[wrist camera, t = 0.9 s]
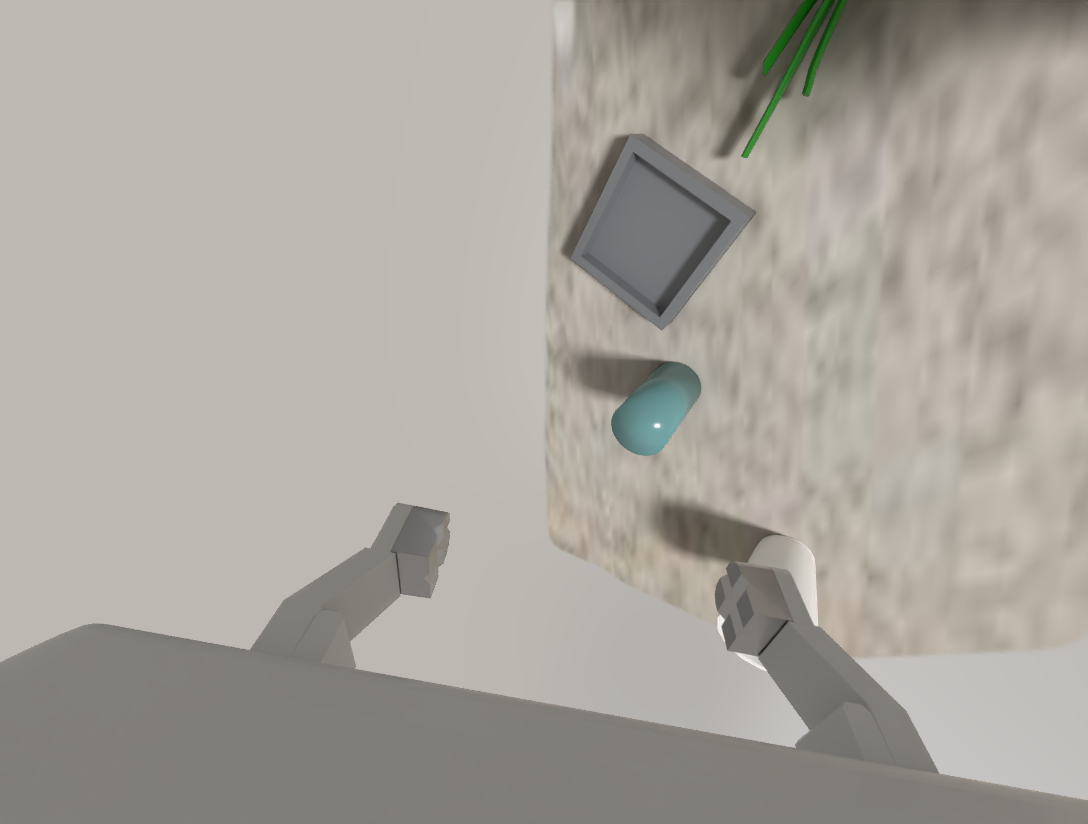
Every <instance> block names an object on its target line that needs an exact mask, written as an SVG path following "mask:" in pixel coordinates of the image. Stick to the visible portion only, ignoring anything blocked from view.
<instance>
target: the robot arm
mask: <svg viewBox="0 0 1088 824" xmlns="http://www.w3.org/2000/svg"><path fill="white" fill-rule="evenodd" d="M449 521H450V515H449V513H448V512H443V511H438V510H433V509H428V508H423V507H418V506H412V505H407V504H402V503H397V504H396V505H395V506H394V507H393V509H392V511H391V513H390V514H389V516H388V518H387V520H386V522H385V523H384V525H383V527H382V529H381V531H380V532H379V534H378V536H377V538H376V540H375V542H374V543H373V545H372V547H371V548H364V549H363V550H361V551H360V552H358V553H357V554H355V555H353V556H352V557H350V558H349V559H347V560H346V561H344V562H343V563H341V564H340V565H338V566H336V567H335V568H333V569H332V570H330V571H329V572H327V573H325V574H324V575H322V576H321V577H319V578H318V579H317V580H315V581H313V582H312V583H310V584H308V585H307V586H305V587H304V588H302V589H301V590H299V591H298V592H296V593H294V594H293V595H291V596H290V597H288V598H287V599H285V600H284V601H283V602H282V604H281V605H280V607H279V608H278V610H277V611H276V612H275V614H274V615H273V617H272V618H271V620H270V621H269V623H268V624H267V626H266V627H265V629H264V630H263V632H262V633H261V635H260V636H259V637H258V639H257V640H256V642H255V643H254V645H253V646H252V648H251V649H250V650H246V649H240V648H235V647H229V646H224V645H218V644H213V643H207V642H201V641H196V640H190V639H185V638H179V637H173V636H167V635H163V634H156V633H152V632H146V631H141V630H135V629H129V628H124V627H119V626H114V625H107V624H88V625H84V626H81V627H78V628H76V629H73V630H70V631H68V632H65V633H63V634H60V635H58V636H56V637H54V638H52V639H49V640H47V641H45V642H43V643H40V644H38V645H36V646H34V647H31V648H29V649H27V650H25V651H23V652H21V653H19V654H17V655H15V656H13V657H11V658H8V659H6V660H4V661H2V662H0V824H1088V800H1083V799H1077V798H1071V797H1066V796H1060V795H1055V794H1049V793H1043V792H1038V791H1032V790H1027V789H1021V788H1015V787H1010V786H1004V785H999V784H993V783H987V782H982V781H977V780H971V779H965V778H960V777H954V776H948V775H943V774H939V772H938V770H937V768H936V766H935V764H934V762H933V761H932V759H931V757H930V755H929V753H928V751H927V749H926V747H925V746H924V744H923V742H922V740H921V738H920V736H919V734H918V732H917V730H916V729H915V727H914V725H913V723H912V721H911V719H910V717H909V715H908V713H907V711H906V710H905V709H904V708H903V707H901V705H900V704H898V702H896V701H895V700H894V699H893V698H892V697H891V696H890V695H889V694H888V693H887V692H886V691H885V690H884V689H883V688H882V687H881V686H880V685H879V684H878V683H877V682H876V681H875V680H874V679H873V678H872V677H871V676H870V675H869V674H868V673H866V671H865V670H864V669H863V668H862V667H861V666H860V665H859V664H857V663H856V662H855V661H854V660H853V659H852V658H851V657H850V656H849V655H848V654H847V653H846V652H845V651H844V650H843V649H842V648H841V647H840V646H839V645H838V644H837V643H836V642H835V641H834V640H833V639H832V638H831V637H830V636H829V635H828V634H827V633H826V632H825V631H824V630H823V629H822V628H821V627H819V626H814V624H813V622H812V619H811V617H810V615H809V613H808V610H807V608H806V606H805V604H804V601H803V599H802V597H801V595H800V592H799V590H798V588H797V586H796V583H795V581H794V579H793V577H792V574H791V573H790V572H789V571H788V570H786V569H780V568H774V567H767V566H764V565H758V564H751V563H745V562H739V561H732V562H730V563H729V564H728V566H727V567H726V570H727V575H725V576H723V577H721V578H720V579H719V581H718V583H717V585H716V591H715V603H716V607H717V611H718V612H719V614H720V615H721V616H722V617H723V618H724V619H725V621H724V623H723V624H722V626H721V627H722V631H723V635H724V639H725V643H726V647H727V650H728V651H733V652H737V653H742V654H747V655H752V656H757V657H758V659H759V661H760V662H761V663H762V665H763V666H764V667H765V669H766V670H767V672H768V673H769V674H770V676H771V677H772V679H773V680H774V681H775V683H776V684H777V685H778V687H779V688H780V689H781V691H782V692H783V694H784V695H785V696H786V698H787V699H788V701H789V702H790V703H791V704H792V706H793V707H794V709H795V710H796V712H797V713H798V714H799V716H800V717H801V718H802V720H803V721H804V723H805V724H806V725H807V727H808V728H809V730H810V731H809V732H808V733H806V734H805V735H804V736H803V737H802V738H800V739H799V740H798V741H797V743H796V744H795V746H796V748H792V747H786V746H781V745H775V744H769V743H764V742H759V741H753V740H747V739H742V738H736V737H731V736H725V735H720V734H714V733H709V732H703V731H698V730H692V729H686V728H681V727H675V726H669V725H664V724H658V723H653V722H648V721H642V720H636V719H631V718H625V717H620V716H614V715H609V714H603V713H598V712H592V711H586V710H581V709H575V708H570V707H564V706H558V705H553V704H547V703H542V702H536V701H531V700H525V699H519V698H514V697H508V696H503V695H497V694H491V693H486V692H480V691H475V690H469V689H464V688H458V687H452V686H447V685H441V684H436V683H430V682H424V681H419V680H413V679H408V678H402V677H397V676H391V675H385V674H380V673H373V672H369V671H363V670H358V669H355V668H356V664H355V661H354V656H353V653H352V649H351V645H350V641H351V640H352V639H353V638H354V637H356V635H358V634H359V633H360V632H361V631H362V630H363V629H364V628H365V627H366V626H368V625H369V624H370V623H371V622H372V621H373V620H374V619H375V618H376V617H378V616H379V615H380V614H381V613H382V612H383V611H384V610H385V609H386V608H388V607H389V606H390V605H391V604H392V603H393V602H394V601H395V600H396V599H398V598H399V597H400V594H404V595H412V596H418V597H425V598H431V596H432V593H433V590H434V587H435V585H436V582H437V579H438V567H439V566H441V565H442V564H443V563H444V560H445V557H446V554H447V549H448V545H449V538H450V531H449V530H448V529H447V527H448V524H449Z"/></svg>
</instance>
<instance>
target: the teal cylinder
mask: <svg viewBox="0 0 1088 824" xmlns="http://www.w3.org/2000/svg"><path fill="white" fill-rule="evenodd" d="M700 393H701V383H700V380H699V377H698V376H697V374H696V373H695V372H694V371H693V370H692V369H691V368H690V367H688V366H687V365H685V364H682V363H678V362H668V363H664V364H662V365H660V366H659V367H658V368H657V369H656V370H655V371H654V372H653V373H652V374H651V375H650V376H649V377H648V378H647V379H646V380H645V381H644V382H643V383H642V384H641V385H640V386H639V387H638V388H637V389H636V390H635V391H634V393H633V394H632V395H631V396H630V397H629V398H628V399H627V400H626V401H625V402H624V403H623V404H622V405H621V406H620V407H619V408H618V409H617V410H616V411H615V413H614V414H613V416H612V421H611V426H612V430H613V433H614V436H615V437H616V439H617V440H618V442H619V443H620V444H621V445H622V446H623V447H624V448H626V449H627V450H629V451H631V452H633V453H635V454H638V455H643V456H649V455H654V454H656V453H658V452H660V451H661V450H662V449H663V448H664V446H665V445H666V444H667V442H668V441H669V439H670V438H671V436H672V435H673V434H674V432H675V431H676V429H677V428H678V426H679V425H680V424H681V422H682V421H683V419H684V418H685V416H686V415H687V414H688V412H689V411H690V409H691V408H692V407H693V405H694V404H695V402H696V401H697V399H698V398H699V396H700Z"/></svg>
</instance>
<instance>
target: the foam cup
mask: <svg viewBox="0 0 1088 824" xmlns="http://www.w3.org/2000/svg"><path fill="white" fill-rule="evenodd" d="M747 563H751V564H758V565H764V566H767V567H774V568H780V569H786V570H788V571H789V572H790V573H791V574H792V577H793V579H794V581H795V583H796V586H797V588H798V590H799V592H800V595H801V597H802V599H803V601H804V604H805V606H806V608H807V610H808V613H809V615H810V617H811V619H812V622H813V624H814V626H818V612H817V591H816V569H815V558H814V556H813V555H812V553H811V551H810V549H809V548H807V547H806V546H805V545H804V544H802V543H801V542H800V541H798V540H795V539H793V538H790V537H788V536H782V535H771V536H767V537H764V538H763V539H762V540H761V541H760V542H759V543H758V545H757V546H756V548H755V550H754V551H753V553H752V555H751V557H750V558H749V560H748V562H747ZM724 621H725V619H724V618H723V617H722V616H721V615H720V614H719V615H718V631H719V633H720V635H721V636H722V638H723V640H724V642H725V639H724V635H723V631H722V627H721V626H722V624H723V623H724ZM735 653H736V654H737V655H738V656H740V657H741V658H742V659H743V660H746V661H747V662H749V663H751V664H753V665H754V666H756V667H758V668H760V669H761V670H764V671H767V670H766V669H765V667H764V666H763V665H762V663H761V662H760V661H759V659H758V657H757V656H752V655H747V654H742V653H737V652H735Z"/></svg>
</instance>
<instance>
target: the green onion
mask: <svg viewBox="0 0 1088 824" xmlns="http://www.w3.org/2000/svg"><path fill="white" fill-rule="evenodd" d="M816 1H817V0H804V1H803V3H802V4H801V5H800V7H799V9H798V10H797V12H796V13H795V15H794V16H793V18H792V19H791V21H790V22H789V24H788V25H787V27H786V28H785V30H784V31H783V33H782V34H781V36H780V37H779V39H778V40H777V42H776V43H775V45H774V46H773V48H772V50H771V51H770V53H769V54H768V56H767V57H766V59H765V60H764V62H763V75H764V76H766V74H767V73H768V71H769V70H770V68H771V67H772V65H773V64H774V62H775V61H776V59H777V58H778V56H779V55H780V53H781V52H782V50H783V49H784V48H785V46H786V45H787V43H788V42H789V40H790V39H791V37H792V36H793V34H794V33H795V31H796V30H797V28H798V27H799V25H800V24H801V22H802V21H803V20H804V18H805V17H806V15H807V14H808V12H809V11H810V10H811V8H812V7H813V5H814V4H815V3H816ZM847 1H848V0H839V1H838V3H837V5H836V7H835V9H834V12H833V14H832V16H831V18H830V20H829V23H828V25H827V27H826V29H825V31H824V34H823V36H822V38H821V40H820V42H819V45H818V47H817V50H816V52H815V55H814V57H813V60H812V62H811V65H810V67H809V70H808V74H807V78H806V82H805V85H804V89H803V92H802V94H803V95H804V96H807V97H808V96H809V95H810V92H811V88H812V85H813V81H814V78H815V74H816V70H817V68H818V66H819V63H820V61H821V58H822V56H823V53H824V51H825V49H826V46H827V44H828V42H829V40H830V38H831V35H832V33H833V31H834V29H835V27H836V24H837V22H838V20H839V18H840V16H841V14H842V11H843V9H844V7H845V5H846V3H847ZM834 2H835V0H823V2H822V4H821V6H820V7H819V9H818V11H817V13H816V15H815V17H814V19H813V20H812V22H811V24H810V26H809V28H808V30H807V32H806V34H805V36H804V38H803V39H802V41H801V43H800V45H799V47H798V49H797V51H796V53H795V55H794V57H793V59H792V60H791V62H790V64H789V66H788V68H787V70H786V72H785V74H784V76H783V78H782V80H781V82H780V84H779V86H778V88H777V89H776V91H775V93H774V95H773V97H772V99H771V101H770V103H769V105H768V107H767V109H766V111H765V113H764V114H763V116H762V118H761V120H760V122H759V124H758V126H757V127H756V129H755V131H754V133H753V135H752V137H751V139H750V140H749V142H748V144H747V146H746V148H745V150H744V152H743V154H742V155H741V156H742V157H743V158H748V156H749V154H750V152H751V150H752V149H753V147H754V145H755V143H756V141H757V140H758V138H759V136H760V134H761V132H762V131H763V129H764V127H765V125H766V123H767V122H768V120H769V118H770V116H771V114H772V113H773V111H774V109H775V107H776V105H777V104H778V102H779V100H780V98H781V96H782V95H783V93H784V91H785V89H786V87H787V85H788V84H789V82H790V80H791V78H792V76H793V75H794V73H795V71H796V69H797V67H798V66H799V64H800V62H801V60H802V58H803V57H804V55H805V53H806V51H807V49H808V48H809V46H810V44H811V42H812V40H813V39H814V37H815V35H816V33H817V31H818V30H819V28H820V26H821V24H822V23H823V21H824V19H825V18H826V16H827V14H828V12H829V11H830V9H831V7H832V5H833V4H834Z"/></svg>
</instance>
